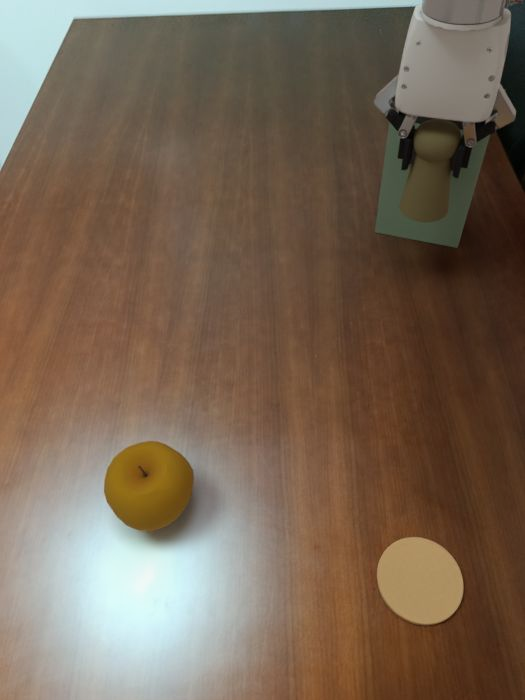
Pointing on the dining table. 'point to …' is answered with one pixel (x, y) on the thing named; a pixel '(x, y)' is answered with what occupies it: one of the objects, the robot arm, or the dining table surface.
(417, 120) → the green box with lid
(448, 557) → the cork mat
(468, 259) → the dining table surface
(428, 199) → the pepper shaker
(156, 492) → the apple
